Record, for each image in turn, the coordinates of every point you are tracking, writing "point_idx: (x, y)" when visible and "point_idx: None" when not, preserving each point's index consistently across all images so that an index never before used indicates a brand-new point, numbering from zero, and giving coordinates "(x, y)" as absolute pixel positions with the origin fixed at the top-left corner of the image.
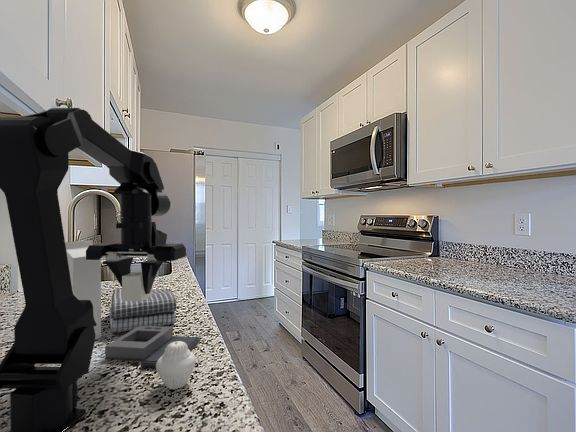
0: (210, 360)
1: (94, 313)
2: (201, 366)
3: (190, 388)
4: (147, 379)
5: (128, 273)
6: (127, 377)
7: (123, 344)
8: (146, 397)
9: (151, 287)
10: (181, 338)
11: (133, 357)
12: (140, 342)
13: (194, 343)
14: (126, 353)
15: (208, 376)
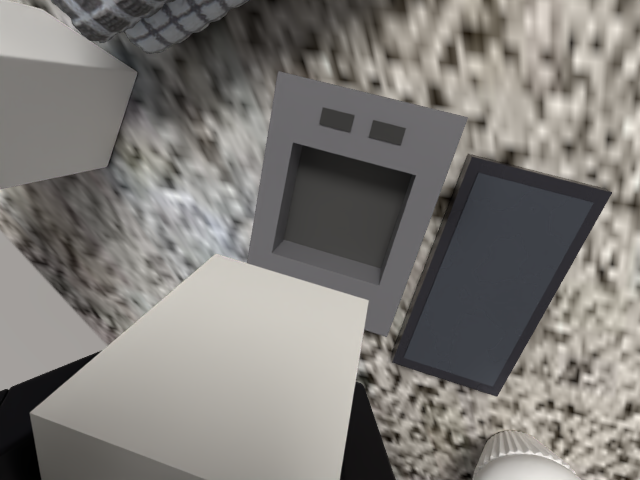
0: (630, 357)
1: (26, 95)
2: (591, 386)
3: None
4: (428, 410)
5: (26, 474)
6: (371, 388)
7: None
8: (445, 474)
9: (373, 422)
10: (515, 197)
11: None
12: (357, 285)
13: (578, 247)
14: None
15: (609, 441)
